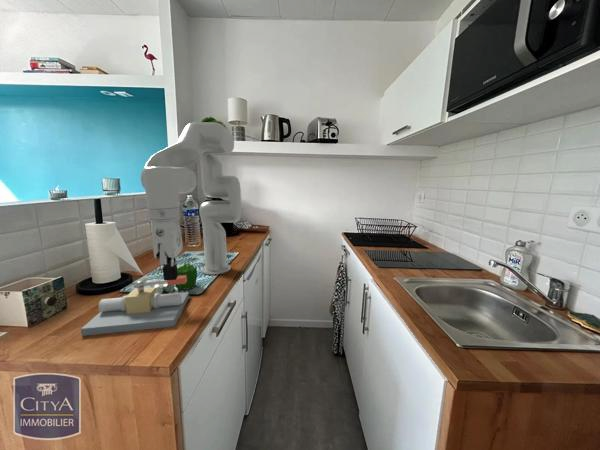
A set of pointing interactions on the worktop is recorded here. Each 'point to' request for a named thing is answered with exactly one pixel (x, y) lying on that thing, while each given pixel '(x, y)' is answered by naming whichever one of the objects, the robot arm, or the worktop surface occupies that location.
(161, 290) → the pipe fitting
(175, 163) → the robot arm
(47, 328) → the worktop surface
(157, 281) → the valve lever
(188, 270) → the bell pepper
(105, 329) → the pipe board
